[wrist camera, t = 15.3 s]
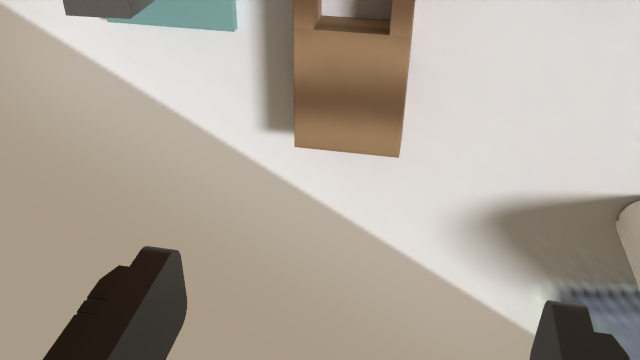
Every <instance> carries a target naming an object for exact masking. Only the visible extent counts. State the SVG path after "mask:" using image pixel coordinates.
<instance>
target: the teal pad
mask: <svg viewBox="0 0 640 360" xmlns="http://www.w3.org/2000/svg"><path fill="white" fill-rule="evenodd" d="M107 21H108V22H115V23H128V24H141V25H154V26H167V27H180V28H193V29H206V30H219V31H232V32H234V31H235V30H236V29H237V19H236V3H235V0H156V1H154V2H153V3H151V4H150V5H149V6H147V7H146V8H145V9H143V10H142V11H141V12H139V13H138V14H136V15H135V16H134V17H132V18H131V19H120V18H107Z"/></svg>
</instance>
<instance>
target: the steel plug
mask: <svg viewBox="0 0 640 360" xmlns="http://www.w3.org/2000/svg"><path fill="white" fill-rule="evenodd" d="M154 1H156V0H63V4H64V8H65V12H66V15H70V16H86V17H103V18H120V19H131V18H132V17H134V16H135V15H136V14H138V13H139V12H141V11H142V10H143V9H145V8H146V7H147V6H149V5H150V4H151V3H153V2H154Z"/></svg>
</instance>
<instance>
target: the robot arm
mask: <svg viewBox="0 0 640 360" xmlns="http://www.w3.org/2000/svg"><path fill="white" fill-rule="evenodd" d="M186 310H187V296H186V289H185V282H184V275H183V268H182V261H181V255H180V253H179V251H178V250H172V249H165V248H157V247H150V246H145V247H143V248H142V249H141V250H140V252H139V253H138V255H137V256H136V258H135V259H134V261H133V262H132V264H131V265H130V267H127V266H120V265H119V266H118V267H116V268H115V269H114V270H112V271H111V272H109V273H108V274H107V275H105V276H104V277H102V278H101V279H100V280H99V281H98V283H97V284H96V285H95V287H94V288H93V290H92V291H91V292H90V294H89V295H88V297H87V300H85V301H84V302H83V304H82V305H81V306H80V308H79V309H78V311H77V315H74V316H73V318H72V319H71V321H70V322H69V323H68V325H67V326H66V328H65V329H64V330H63V332H62V333H61V335H60V336H59V337H58V339H57V340H56V342H55V343H54V345H53V346H52V347H51V349H50V350H49V351H48V353H47V354H46V356H45V357H44V358H43V360H166V358H167V356H168V354H169V352H170V350H171V348H172V346H173V344H174V342H175V340H176V338H177V336H178V334H179V332H180V330H181V328H182V325H183V323H184V320H185V315H186ZM530 360H630V359H629V356H628V355H627V353H626V352H625V351H624V349H623V348H622V347H621V346H620V344H619V343H618V342H617V341H616V339H615V338H614V337H613V336H612V334H605V333H597V332H594V330H593V326H592V322H591V319H590V315H589V311H588V308H587V307H586V306H585V305H581V304H573V303H565V302H558V301H550V300H548V301H547V302H546V303H545V305H544V308H543V312H542V315H541V319H540V322H539V325H538V329H537V332H536V336H535V339H534V342H533V346H532V349H531V354H530Z"/></svg>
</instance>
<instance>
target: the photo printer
mask: <svg viewBox="0 0 640 360" xmlns="http://www.w3.org/2000/svg"><path fill="white" fill-rule="evenodd" d="M615 224H616V229H617V232H618V234H619V237H620V239H621V242H622V245H623V247H624V250H625V252H626V255H627V258H628V260H629V263H630V266H631V268H632V271H633V274H634V276H635V279H636V281H637V284H638V287H639V290H640V201H637V202H634V203H632V204H630V205H629V206H627V207H626V208H625V209H624V210H623V211H622V212H621V214H620V215H619V220H618V221H616V223H615Z"/></svg>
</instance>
